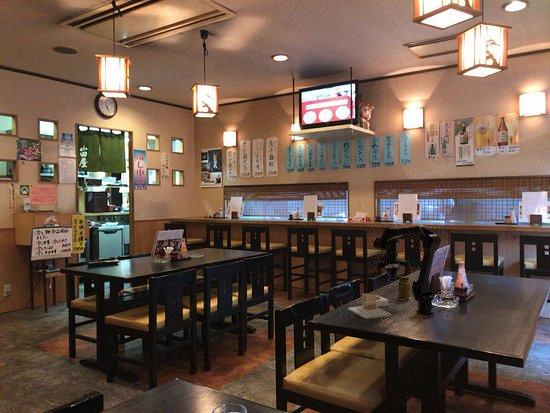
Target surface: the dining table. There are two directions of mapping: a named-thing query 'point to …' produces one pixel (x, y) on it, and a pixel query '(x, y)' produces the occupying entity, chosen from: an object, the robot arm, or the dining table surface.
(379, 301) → the button housing
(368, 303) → the block
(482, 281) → the dining table surface
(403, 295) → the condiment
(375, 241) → the robot arm
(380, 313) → the tray
